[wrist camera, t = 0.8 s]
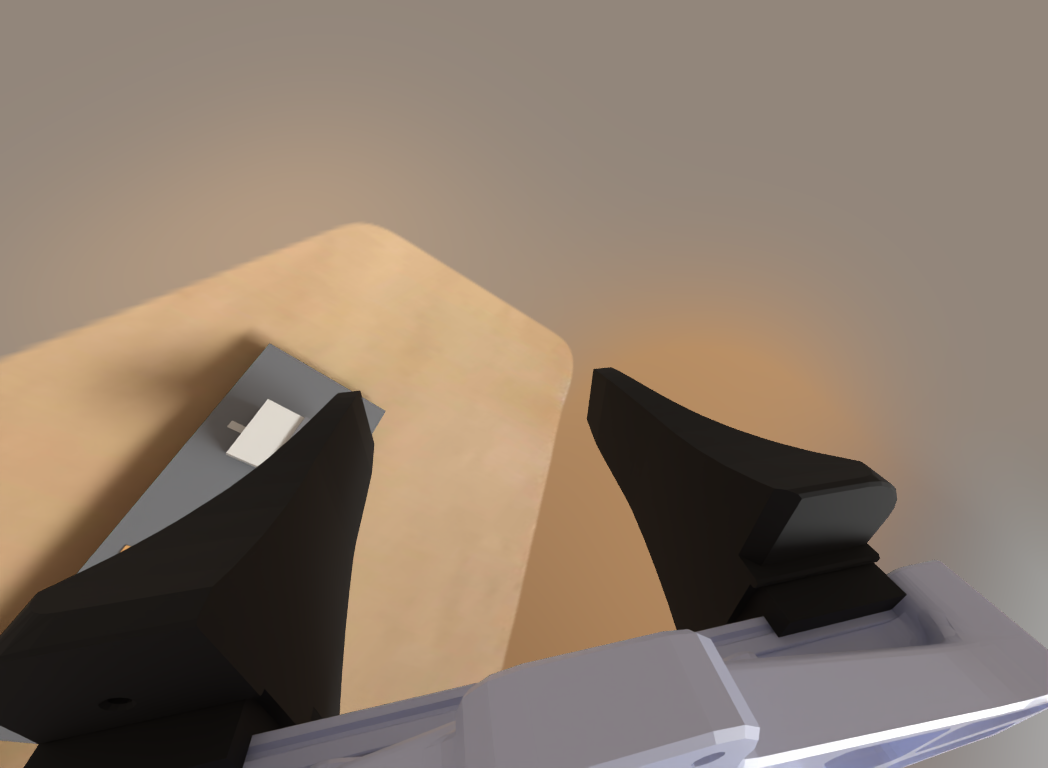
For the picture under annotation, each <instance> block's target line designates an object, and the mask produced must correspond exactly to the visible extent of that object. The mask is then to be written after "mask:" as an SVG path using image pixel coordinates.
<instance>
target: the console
mask: <svg viewBox="0 0 1048 768" xmlns="http://www.w3.org/2000/svg"><path fill="white" fill-rule="evenodd" d="M342 392H352V391H350V390H349V389H347V388H345V387H344V386H342V385H340V384H338V383H337V382H335V381H333V380H332V379H330V378H328V377H326V376H325V375H323V374H321V373H320V372H318V371H316V370H314V369H313V368H311V367H309V366H308V365H306V364H304V363H302V362H301V361H299V360H297V359H296V358H294V357H292V356H290V355H289V354H287V353H285V352H284V351H282V350H280V349H278V348H277V347H275V346H273V345H272V344H270V343H269V345H268V346H267V347H266V348H265V349H264V351H263V352H262V353H261V354H260V355H259V357H258V358H257V359H256V360H255V361H254V363H253V364H252V365H251V366H250V367H249V369H248V370H247V371H246V372H245V373H244V374H243V376H242V377H241V378H240V379H239V380H238V382H237V383H236V384H235V385H234V386H233V388H232V389H231V390H230V391H229V392H228V394H227V395H226V396H225V397H224V398H223V400H222V401H221V402H220V403H219V404H218V406H217V407H216V408H215V409H214V410H213V412H212V413H211V414H210V415H209V416H208V418H207V419H206V420H205V421H204V422H203V423H202V425H201V426H200V427H199V428H198V429H197V431H196V432H195V433H194V434H193V435H192V437H191V438H190V439H189V440H188V441H187V443H186V444H185V445H184V446H183V447H182V449H181V450H180V451H179V452H178V453H177V455H176V456H175V457H174V458H173V459H172V461H171V462H170V463H169V464H168V465H167V467H166V468H165V469H164V470H163V471H162V472H161V474H160V475H159V476H158V477H157V478H156V480H155V481H154V482H153V483H152V484H151V486H150V487H149V488H148V489H147V490H146V492H145V493H144V494H143V495H142V496H141V498H140V499H139V500H138V501H137V502H136V504H135V505H134V506H133V507H132V508H131V510H130V511H129V512H128V513H127V514H126V516H125V517H124V518H123V519H122V520H121V521H120V523H119V524H118V525H117V526H116V527H115V529H114V530H113V531H112V532H111V533H110V535H109V536H108V537H107V538H106V539H105V541H104V542H103V543H102V544H101V545H100V547H99V548H98V549H97V550H96V551H95V553H94V554H93V555H92V556H91V557H90V559H89V560H88V561H87V562H86V563H85V565H84V566H83V567H82V568H81V569H80V570H79V572H78V573H80V572H82V571H84V570H86V569H88V568H90V567H92V566H94V565H96V564H98V563H100V562H102V561H104V560H106V559H108V558H110V557H112V556H114V555H116V554H118V553H120V552H122V551H124V550H126V549H127V548H129V547H131V546H133V545H135V544H137V543H139V542H140V541H142V540H144V539H146V538H148V537H150V536H151V535H153V534H155V533H157V532H159V531H160V530H162V529H164V528H165V527H167V526H169V525H171V524H172V523H174V522H176V521H178V520H179V519H181V518H183V517H184V516H186V515H187V514H189V513H191V512H192V511H194V510H195V509H197V508H198V507H200V506H201V505H203V504H205V503H206V502H208V501H209V500H211V499H212V498H214V497H215V496H217V495H219V494H220V493H222V492H223V491H225V490H226V489H228V488H229V487H231V486H232V485H233V484H235V483H236V482H237V481H239V480H240V479H242V478H243V477H244V476H246V475H247V474H248V473H250V472H251V471H252V470H254V469H255V468H256V467H253V466H251V465H249V464H246V463H244V462H242V461H239V460H237V459H235V458H232V457H230V456H228V455H226V452H227V451H228V450H229V449H230V447H231V446H232V445H233V443H234V442H235V441H236V439H237V438H238V437H239V436H240V434H241V433H242V432H243V430H244V429H245V428H246V427H247V425H248V424H249V423H250V421H251V420H252V419H253V417H254V416H255V415H256V414H257V412H258V411H259V410H260V408H261V407H262V406H263V405H264V403H265V402H266V401H267V399H269V400H271V401H273V402H275V403H277V404H279V405H281V406H283V407H285V408H286V409H288V410H290V411H292V412H294V413H296V414H298V415H300V416H302V417H304V418H305V417H307V418H309V419H312V418H313V417H314V416H315V415H316V414H317V413H318V412H319V411H320V410H321V409H322V408H323V407H324V406H325V405H326V404H327V403H328V402H329V401H330V400H331V399H332V398H333V397H334V396H335V395H336V394H337V393H342ZM362 399H363V403H364V407H365V411H366V415H367V418H368V422H369V426H370V430H371V434H372V433H373V431H374V430H375V428H376V426H377V425H378V423H379V421H380V420H381V418H382V416H383V415H384V413H385V410H383V409H381V408H380V407H378V406H376V405H374V404H373V403H371V402H369V401H368V400H366V399H364V398H362ZM78 573H77V574H78ZM0 740H2V741H12V742H23V743H34V744H37V743H35V742H33V741H31V740H29V739H27V738H25V737H23V736H21V735H19V734H16V733H14V732H12V731H10V730H8V729H6V728H4V727H2V726H0Z"/></svg>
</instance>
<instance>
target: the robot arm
mask: <svg viewBox="0 0 1048 768" xmlns="http://www.w3.org/2000/svg"><path fill="white" fill-rule="evenodd" d="M587 421H588V423H589V426H590V429H591V432H592V434H593V437H594V439H595V442H596V444H597V446H598V448H599V450H600V452H601V454H602V456H603V458H604V459H605V461H606V463H607V465H608V467H609V468H610V470H611V472H612V474H613V476H614V477H615V479H616V481H617V483H618V485H619V486H620V488H621V490H622V492H623V494H624V495H625V497H626V499H627V501H628V503H629V505H630V507H631V509H632V511H633V513H634V516H635V518H636V521H637V523H638V525H639V528H640V530H641V533H642V535H643V537H644V540H645V542H646V545H647V548H648V550H649V553H650V555H651V558H652V560H653V563H654V566H655V568H656V571H657V574H658V577H659V579H660V582H661V585H662V588H663V591H664V593H665V596H666V599H667V602H668V605H669V608H670V611H671V614H672V617H673V620H674V623H675V626H676V629H677V630H674V631H663V632H659V633H654V634H650V635H646V636H641V637H637V638H633V639H628V640H624V641H620V642H615V643H611V644H606V645H602V646H598V647H594V648H589V649H585V650H580V651H576V652H571V653H567V654H563V655H559V656H554V657H550V658H546V659H541V660H537V661H532V662H528V663H524V664H520V665H517V666H515V667H511V668H508V669H506V670H503V671H500V672H497V673H494V674H491V675H489V676H488V677H486V678H485V679H483V680H482V681H480V682H479V683H474V684H470V685H466V686H462V687H457V688H453V689H449V690H444V691H440V692H436V693H432V694H427V695H423V696H419V697H414V698H410V699H406V700H402V701H397V702H393V703H389V704H384V705H380V706H376V707H372V708H367V709H363V710H359V711H354V712H350V713H346V714H342V715H339V714H340V697H341V681H342V666H343V654H344V642H345V629H346V619H347V609H348V599H349V589H350V581H351V573H352V564H353V556H354V551H355V545H356V540H357V536H358V532H359V527H360V523H361V519H362V514H363V510H364V506H365V501H366V497H367V493H368V488H369V484H370V479H371V475H372V466H373V453H374V441H373V437H372V434H371V430H370V426H369V422H368V418H367V415H366V411H365V407H364V403H363V399H362V396H361V392H360V391H353V392H342V393H337V394H336V395H335V396H334V397H333V398H332V399H331V400H330V401H329V402H328V403H327V404H326V405H325V406H324V407H323V408H322V409H321V410H320V411H319V412H318V413H317V414H316V415H315V416H314V417H313V418H312V419H311V420H310V421H309V422H308V423H306V424H305V425H304V426H303V427H302V428H301V429H300V430H299V431H298V432H297V433H296V434H295V435H294V436H293V437H292V438H290V439H289V440H288V441H287V442H286V443H285V444H284V445H282V446H281V447H280V448H279V449H278V450H277V451H276V452H274V453H273V454H272V455H271V456H270V457H269V458H267V459H266V460H265V461H264V462H263V463H261V464H260V465H259V466H258V467H256V468H255V469H254V470H252V471H251V472H250V473H248V474H247V475H246V476H244V477H243V478H242V479H240V480H239V481H237V482H236V483H235V484H233V485H232V486H231V487H229V488H228V489H226V490H225V491H223V492H222V493H220V494H219V495H217V496H215V497H214V498H212V499H211V500H209V501H208V502H206V503H205V504H203V505H201V506H200V507H198V508H197V509H195V510H194V511H192V512H191V513H189V514H187V515H186V516H184V517H183V518H181V519H179V520H178V521H176V522H174V523H172V524H171V525H169V526H167V527H165V528H164V529H162V530H160V531H159V532H157V533H155V534H153V535H151V536H150V537H148V538H146V539H144V540H142V541H140V542H139V543H137V544H135V545H133V546H131V547H129V548H127V549H126V550H124V551H122V552H120V553H118V554H116V555H114V556H112V557H110V558H108V559H106V560H104V561H102V562H100V563H98V564H96V565H94V566H92V567H90V568H88V569H86V570H84V571H82V572H80V573H78V574H75V575H73V576H71V577H69V578H67V579H65V580H63V581H61V582H59V583H57V584H55V585H53V586H51V587H49V588H46V589H44V590H42V591H40V592H38V593H37V594H36V595H35V596H34V597H33V598H32V600H31V601H30V602H29V603H28V604H27V605H26V606H25V608H24V609H23V610H22V611H21V612H20V613H19V615H18V616H17V617H16V618H15V619H14V620H13V621H12V623H11V624H10V625H9V626H8V627H7V628H6V630H5V631H4V632H3V633H2V634H1V635H0V726H2V727H4V728H6V729H8V730H10V731H12V732H14V733H16V734H19V735H21V736H23V737H25V738H27V739H29V740H31V741H33V742H35V743H37V744H39V745H38V746H37V748H36V750H35V751H34V753H33V754H32V756H31V757H30V759H29V760H28V762H27V763H26V765H25V766H24V768H903V767H906V766H909V765H911V764H914V763H917V762H920V761H922V760H925V759H928V758H931V757H933V756H936V755H939V754H942V753H944V752H947V751H950V750H953V749H956V748H958V747H961V746H964V745H967V744H970V743H973V742H976V741H979V740H981V739H985V738H987V737H990V736H993V735H995V734H997V733H999V732H1001V731H1004V730H1006V729H1007V728H1010V727H1012V726H1014V725H1016V724H1017V723H1020V722H1022V721H1024V720H1026V719H1028V718H1030V717H1032V716H1034V715H1036V714H1038V713H1040V712H1042V711H1044V710H1046V709H1048V649H1046V648H1045V647H1044V646H1043V645H1041V644H1040V643H1039V642H1038V641H1037V640H1035V639H1034V638H1033V637H1032V636H1031V635H1029V634H1028V633H1027V632H1026V631H1025V630H1023V629H1022V628H1021V627H1020V626H1019V625H1017V624H1016V623H1015V622H1014V621H1013V620H1011V619H1010V618H1009V617H1008V616H1006V615H1005V614H1004V613H1003V612H1002V611H1001V610H999V609H998V608H997V607H996V606H995V605H993V604H992V603H991V602H990V601H989V600H987V599H986V598H985V597H984V596H983V595H981V594H980V593H979V592H978V591H977V590H975V589H974V588H973V587H972V586H970V585H969V584H968V583H967V582H966V581H964V580H963V579H962V578H961V577H960V576H958V575H957V574H956V573H955V572H954V571H952V570H951V569H950V568H949V567H948V566H946V565H945V564H944V563H943V562H941V561H939V560H932V561H927V562H923V563H918V564H914V565H909V566H905V567H901V568H898V569H895V570H893V571H892V572H890V573H888V574H887V575H886V574H885V573H884V572H883V571H882V570H881V569H880V568H879V567H878V566H877V565H875V563H874V562H877V561H878V560H879V559H880V557H879V554H878V553H877V552H876V551H875V550H874V549H873V548H871V547H870V546H869V545H868V544H867V542H868V541H869V540H870V538H871V537H872V536H873V535H874V534H875V532H876V531H877V530H878V529H879V527H880V526H881V525H882V524H883V523H884V521H885V520H886V519H887V518H888V516H889V515H890V513H891V512H892V510H893V509H894V506H895V504H896V501H897V495H896V489H895V488H894V486H893V485H892V484H891V483H889V482H888V481H887V480H885V479H884V478H883V477H881V476H880V475H879V474H877V473H876V472H875V471H873V470H872V469H871V468H869V467H868V466H867V465H865V464H864V463H862V462H860V461H856V460H851V459H846V458H841V457H836V456H831V455H826V454H821V453H816V452H812V451H808V450H804V449H800V448H796V447H792V446H788V445H784V444H780V443H777V442H774V441H770V440H767V439H764V438H760V437H758V436H754V435H752V434H749V433H745V432H743V431H740V430H737V429H734V428H731V427H729V426H726V425H723V424H721V423H719V422H716V421H714V420H711V419H709V418H707V417H704V416H702V415H700V414H698V413H695V412H693V411H691V410H689V409H687V408H685V407H683V406H681V405H679V404H677V403H675V402H673V401H671V400H669V399H667V398H666V397H664V396H662V395H660V394H658V393H657V392H655V391H653V390H651V389H649V388H648V387H646V386H644V385H643V384H641V383H639V382H637V381H636V380H634V379H632V378H631V377H629V376H627V375H625V374H623V373H621V372H620V371H618V370H616V369H614V368H611V367H610V368H601V369H594V371H593V377H592V385H591V393H590V400H589V407H588V415H587Z"/></svg>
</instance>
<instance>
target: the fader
mask: <svg viewBox="0 0 1048 768" xmlns="http://www.w3.org/2000/svg"><path fill="white" fill-rule="evenodd" d="M310 420H311V419H309V418H307V417H305V418H304V417H302V416H300V415H298V414H296V413H294V412H292V411H290V410H288V409H286V408H285V407H283V406H281V405H279V404H277V403H275V402H273V401H271V400H269V399H267V401H266V402H265V403H264V405H263V406H262V407H261V408H260V410H259V411H258V412H257V414H256V415H255V416H254V417H253V419H252V420H251V421H250V423H249V424H248V425H247V427H246V428H245V429H244V430H243V432H242V433H241V434H240V436H239V437H238V438H237V439H236V441H235V442H234V443H233V445H232V446H231V447H230V449H229V450H228V451H227V452H226V455H228V456H230V457H232V458H235V459H237V460H239V461H242V462H244V463H246V464H249V465H251V466H253V467H258V466H259V465H260V464H261V463H263V462H264V461H265V460H266V459H267V458H269V457H270V456H271V455H272V454H273V453H274V452H276V451H277V450H278V449H279V448H280V447H281V446H282V445H284V444H285V443H286V442H287V441H288V440H289V439H290V438H292V437H293V436H294V435H295V434H296V433H297V432H298V431H299V430H300V429H301V428H302V427H303V426H304V425H305V424H306V423H308V422H309V421H310Z"/></svg>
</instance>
